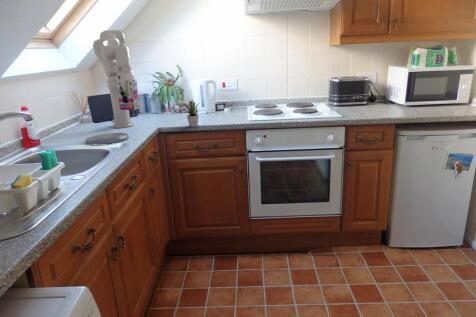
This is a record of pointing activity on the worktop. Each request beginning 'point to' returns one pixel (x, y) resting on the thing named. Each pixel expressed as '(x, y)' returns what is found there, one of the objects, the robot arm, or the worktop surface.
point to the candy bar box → (130, 97)
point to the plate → (107, 138)
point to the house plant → (192, 113)
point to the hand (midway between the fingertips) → (129, 101)
